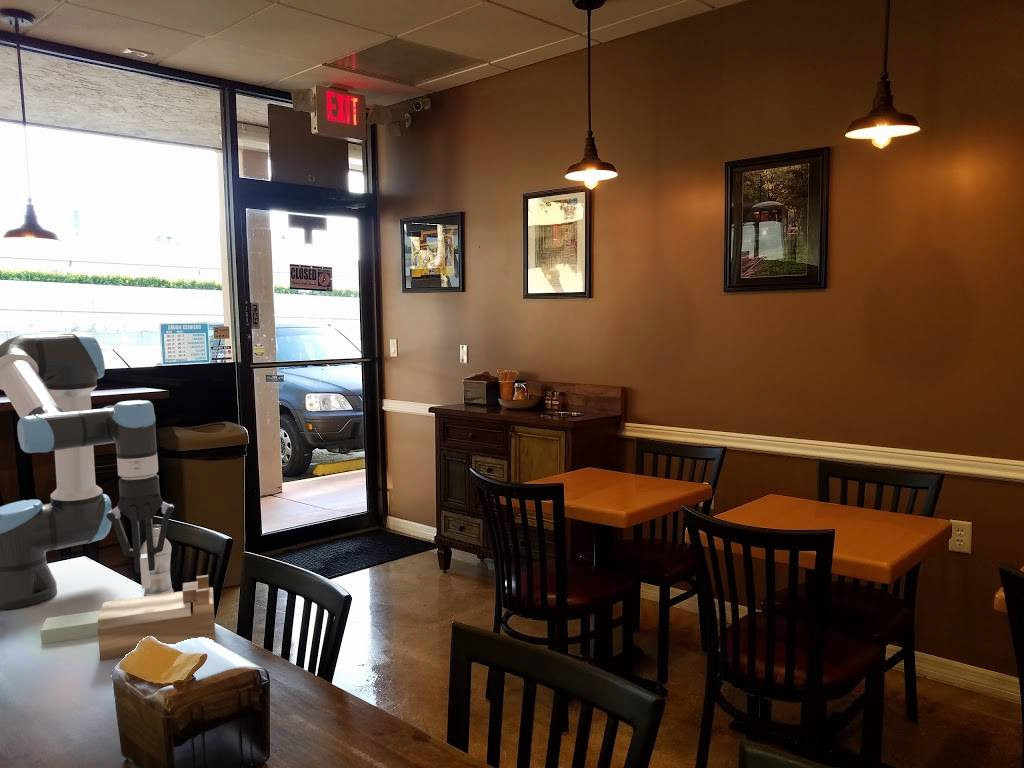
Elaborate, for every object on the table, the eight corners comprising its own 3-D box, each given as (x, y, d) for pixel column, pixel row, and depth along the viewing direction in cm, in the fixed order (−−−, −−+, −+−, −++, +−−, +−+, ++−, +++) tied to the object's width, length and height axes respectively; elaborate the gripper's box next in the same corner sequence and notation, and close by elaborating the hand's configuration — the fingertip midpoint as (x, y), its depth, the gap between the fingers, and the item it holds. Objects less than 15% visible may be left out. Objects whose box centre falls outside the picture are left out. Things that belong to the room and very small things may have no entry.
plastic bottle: (140, 609, 184) (134, 527, 182) (169, 601, 189) (164, 521, 186) (148, 617, 179) (143, 533, 177) (179, 609, 184) (174, 527, 182)
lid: (104, 611, 166) (103, 601, 166) (191, 598, 172) (190, 590, 172) (98, 629, 157) (97, 620, 156) (190, 615, 163) (190, 606, 163)
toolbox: (104, 642, 166) (101, 588, 165) (214, 625, 175) (211, 574, 173) (99, 662, 157) (95, 605, 156) (215, 644, 165) (212, 589, 164)
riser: (47, 631, 173) (46, 618, 172) (113, 621, 177) (112, 608, 177) (41, 644, 166) (40, 630, 166) (109, 633, 171) (108, 620, 170)
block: (183, 593, 169) (183, 583, 169) (198, 591, 170) (198, 581, 170) (183, 602, 164) (182, 591, 164) (198, 600, 165) (197, 589, 165)
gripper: (101, 482, 155) (109, 597, 158) (172, 476, 160) (179, 587, 162) (105, 475, 162) (113, 584, 165) (173, 469, 167) (180, 575, 169)
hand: (146, 585), depth 163 cm, fingers closed
